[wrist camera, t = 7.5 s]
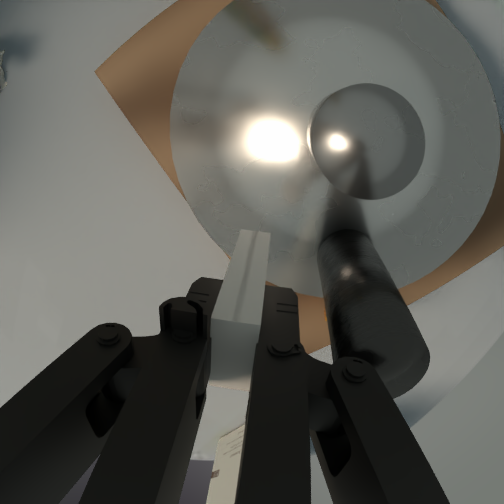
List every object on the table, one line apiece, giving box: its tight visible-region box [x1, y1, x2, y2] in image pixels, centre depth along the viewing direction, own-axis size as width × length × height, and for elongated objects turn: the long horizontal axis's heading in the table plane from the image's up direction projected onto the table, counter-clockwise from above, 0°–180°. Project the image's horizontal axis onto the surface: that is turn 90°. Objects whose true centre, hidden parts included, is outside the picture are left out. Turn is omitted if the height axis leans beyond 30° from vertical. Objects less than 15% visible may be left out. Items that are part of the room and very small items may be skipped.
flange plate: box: [170, 0, 501, 399], centre depth 10 cm, size 17×18×9 cm
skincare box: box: [206, 424, 245, 504], centre depth 22 cm, size 8×6×15 cm
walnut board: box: [95, 0, 504, 354], centre depth 14 cm, size 22×18×5 cm
